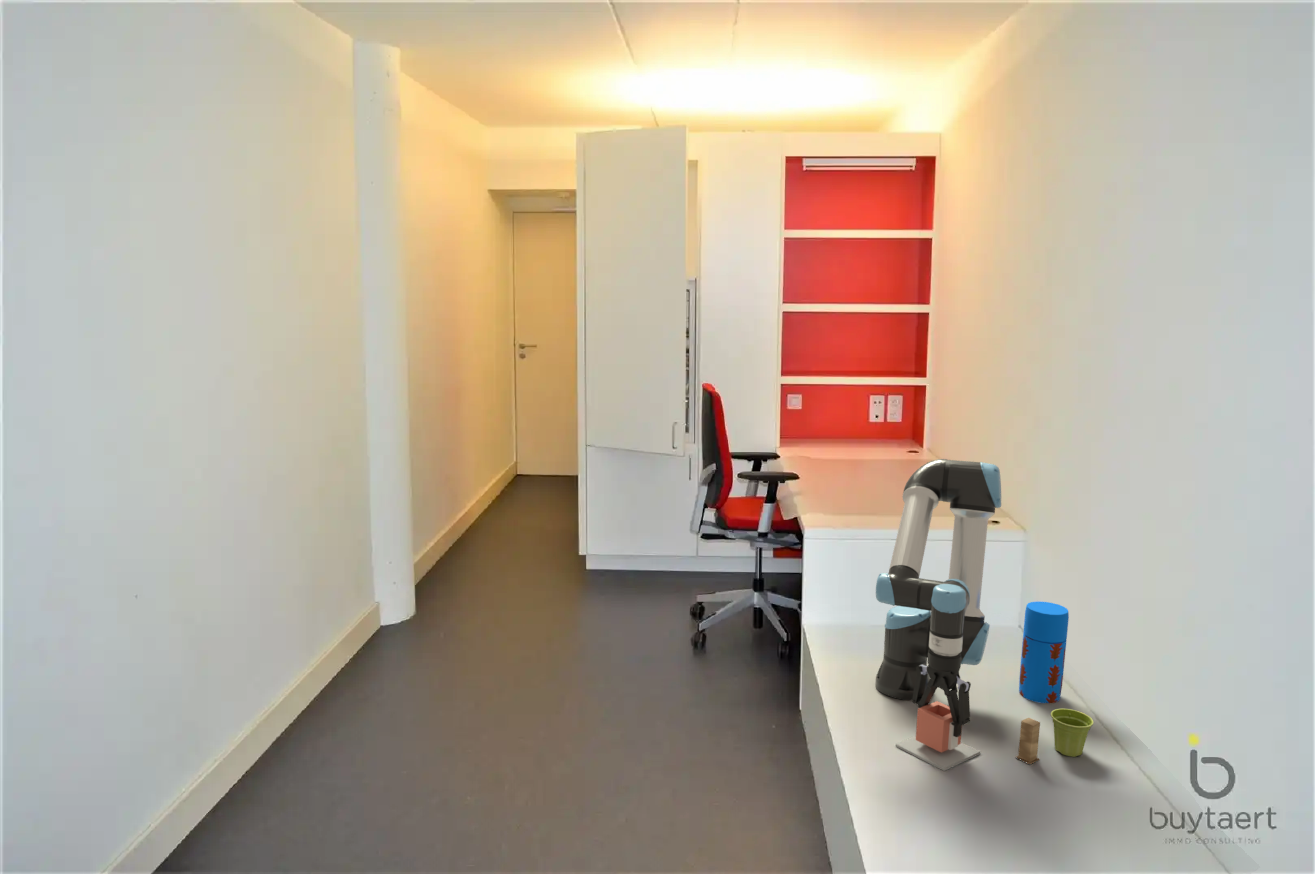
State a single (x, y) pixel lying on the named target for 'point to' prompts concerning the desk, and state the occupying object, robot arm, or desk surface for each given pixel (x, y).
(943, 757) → the coaster
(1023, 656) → the thermos
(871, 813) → the desk surface
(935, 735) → the salmon square sleeve
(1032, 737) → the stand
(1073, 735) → the plant pot
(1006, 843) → the desk surface
